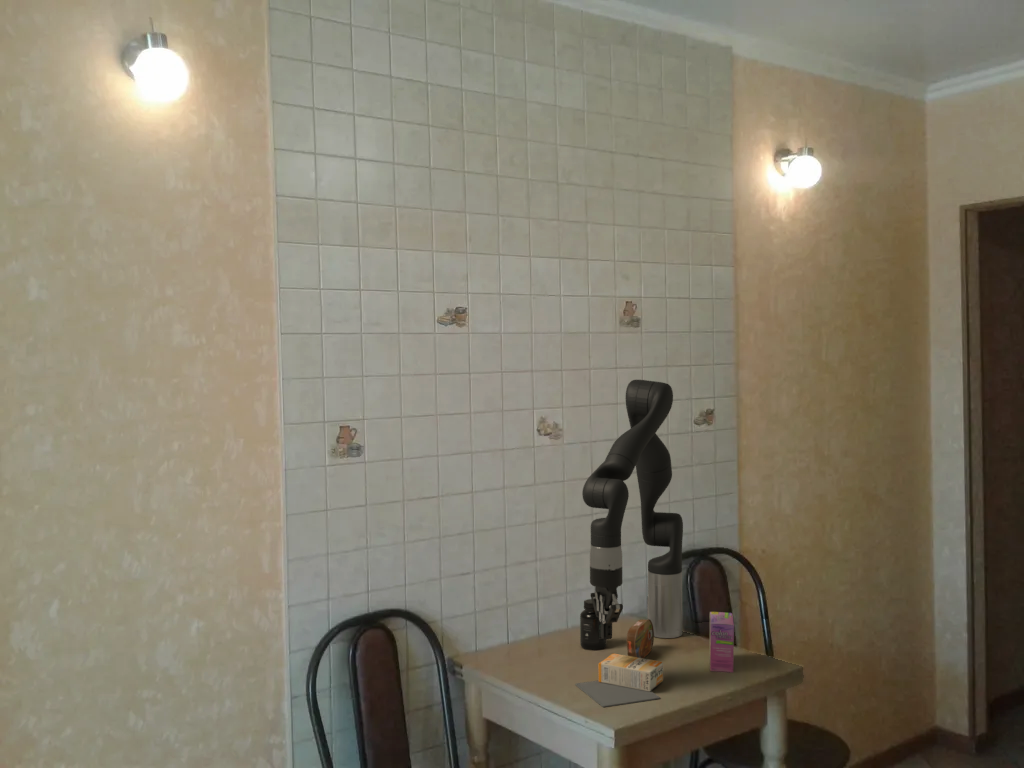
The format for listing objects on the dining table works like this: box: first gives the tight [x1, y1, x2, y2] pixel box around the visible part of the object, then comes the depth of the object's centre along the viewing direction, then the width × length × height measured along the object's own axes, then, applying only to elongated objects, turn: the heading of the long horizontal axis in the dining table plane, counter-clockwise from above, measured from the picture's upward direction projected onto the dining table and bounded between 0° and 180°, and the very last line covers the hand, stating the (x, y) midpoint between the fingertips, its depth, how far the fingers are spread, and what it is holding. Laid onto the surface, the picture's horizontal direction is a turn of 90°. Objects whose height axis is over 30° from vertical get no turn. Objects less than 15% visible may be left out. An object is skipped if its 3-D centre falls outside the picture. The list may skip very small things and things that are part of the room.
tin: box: [625, 619, 655, 659], centre depth 238 cm, size 15×3×8 cm, turn 154°
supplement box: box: [597, 653, 664, 692], centre depth 218 cm, size 8×5×13 cm
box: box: [709, 611, 735, 674], centre depth 229 cm, size 10×6×12 cm, turn 168°
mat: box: [574, 679, 661, 708], centre depth 212 cm, size 15×14×1 cm
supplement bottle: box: [579, 598, 607, 651], centre depth 245 cm, size 7×7×12 cm
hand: (606, 638), depth 217 cm, fingers closed
